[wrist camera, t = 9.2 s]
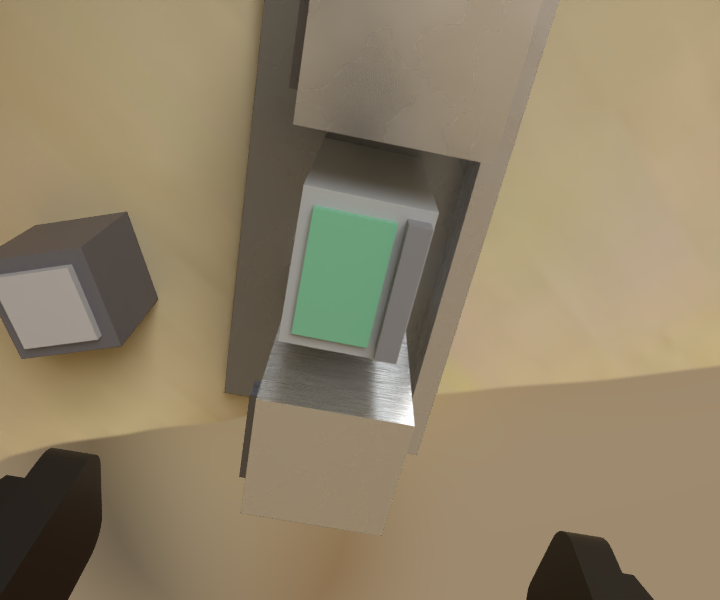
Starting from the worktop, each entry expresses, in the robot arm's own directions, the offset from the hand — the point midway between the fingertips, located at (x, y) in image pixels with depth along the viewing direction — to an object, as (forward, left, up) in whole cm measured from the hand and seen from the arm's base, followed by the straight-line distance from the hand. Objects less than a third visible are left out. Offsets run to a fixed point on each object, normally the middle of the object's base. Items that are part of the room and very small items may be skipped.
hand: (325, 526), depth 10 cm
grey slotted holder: (0, 0, -20) cm, 20 cm away
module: (0, 0, -19) cm, 19 cm away
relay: (+6, -13, -20) cm, 25 cm away
